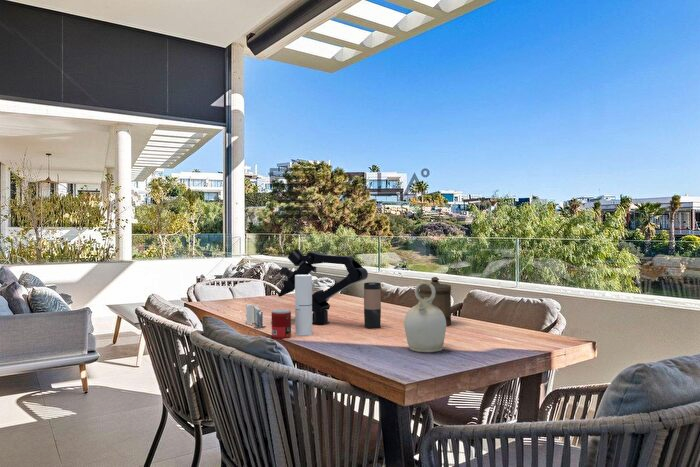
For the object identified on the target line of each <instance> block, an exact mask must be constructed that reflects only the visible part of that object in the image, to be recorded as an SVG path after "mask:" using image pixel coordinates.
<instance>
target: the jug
mask: <svg viewBox="0 0 700 467" xmlns="http://www.w3.org/2000/svg"><path fill="white" fill-rule="evenodd" d="M423 285H427V286H428V287H430V289H431V292H432V294H431V296H430V298H428V297H426V298H422V297H421V296H420V295H419V291H420V290H419V289H420V287H421V286H423ZM435 294H436V292H435V288H434V286H433V285H432V284H431V282H430V281H426V280H423V281H421V282H419V283H418V284H416V286H415V288H414V295H415V298H416V299H417V300H418V303H417V304H415V305H414V306H412V307H411V308H410V309H408V310H407V312H406V313H405V317H404V321H403V324H404V325H403V326H404V327H403V328H404V332H405V337H406V342H407V345H408V349H409V350H410V351H413V352H417V353H425V354H426V353H427V354H428V353H438V352H440V351H442V350H443V346H444V343H445V338H446V331H447V326H446V319H445V316H444V314H443V312H442V311H441V310H440V309H439V308H438V307H436V306H434V305H432V304H431V303H432V301H433V299H434V297H435Z"/></svg>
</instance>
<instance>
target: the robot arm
mask: <svg viewBox="0 0 700 467" xmlns="http://www.w3.org/2000/svg"><path fill="white" fill-rule="evenodd" d="M287 259H288V260H289V261H290V262H291V263H292V264H293V265H294V266H295V267H297V269H295V270H294V271H293V270H291V269H289V268H288V267H287V266H286V267H285V266H282V267H281V269H280V271H279V274H280V275H283V276H285V277H287V278H285V279H284V280H283V282H282V284H283V287H282V288H281V290H280V292H279V293H278V295H277V296H278V297H279V298H281V297H283V296H285V295H288V294H289V293H292V292H294V291H295V275H310V274H311V273H312V272H313V273H315V274H317V266H314V265H317V264H334V265H335V264H337V265H343V266H344V267H345V269H346V271H347V273H348V274H347V275H346V277H344V278H343V279H341V280H340V281H337V283H335V284H334V285H331V286H330V287H328V288H327V289H326V290H324V289H320V290H316V291H315V292H314V293H312V325H321V326H324V325H326V324H329V323H330V321H329V318H328V317H329V315H328V314H329V313H328V312H329V311H328V310H330V307H331V305H330V303H329V300H330V299H331V298H333V297H334V296H335V295H338V293H340V292H342V291H344V290H345V289H347V288H348V287H350V286H351V285H353V284H356V283H360V282H362V281H365V280H366V279H368V275H369V273H368V272H369V271H368V270H367V269H366V268H365V267H363V266H362V265H361V263H359V262H358V261H356V259H355V258H354V257H353V256H351V255H332V254H326V253H323V252H320V251H310V252H307V254H306V255H305V254H303V252H301V250H300V249H299V248H296V249H294V250H293V251H291V253H289V254H288V256H287Z"/></svg>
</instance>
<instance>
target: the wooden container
mask: <svg viewBox="0 0 700 467" xmlns="http://www.w3.org/2000/svg"><path fill="white" fill-rule="evenodd" d="M439 281H440V279H439V278H438V276H433V277H431V282H430V283H431V284H432V285H433V286H434V288H435V292H436V294H435V297H434V299H433V301H432V303H431V304H432V305H434V306H436V307H438V308H439V309H440V310H441V311H442V312H443V314H444V316H445V319H446V327H449V326H451V325H452V302H451V301H452V299H451V298H452V297H451V296H452V295H451V293H452V286H451V285H450V284H448V283H447V284H444V283H440V282H439ZM431 294H432V292H431V289H430V287H428V286H427V285H423V286H421V287H420V289H419V295H420V296H421V297H422V298H426V297H428V298H430V296H431Z"/></svg>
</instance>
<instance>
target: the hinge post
mask: <svg viewBox="0 0 700 467" xmlns="http://www.w3.org/2000/svg"><path fill="white" fill-rule="evenodd" d="M263 318H264V316H263V311H260V312H257V324H256V326H253V329H258V328H262V329H265V327H266V328H267V325H264V324H263V322H264V320H263Z"/></svg>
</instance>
